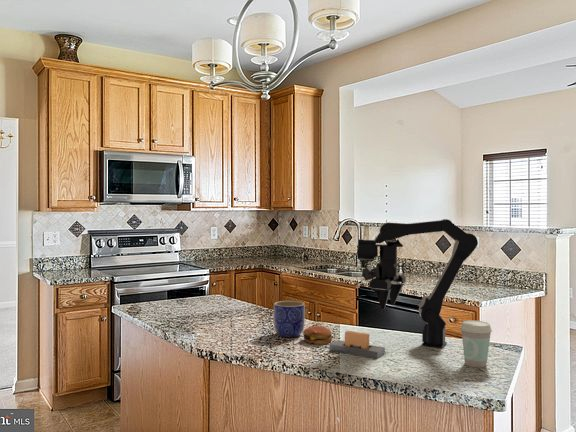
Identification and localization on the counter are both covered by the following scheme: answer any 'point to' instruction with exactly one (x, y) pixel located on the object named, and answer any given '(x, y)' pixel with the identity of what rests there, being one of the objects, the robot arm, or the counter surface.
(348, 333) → the clip
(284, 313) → the planter
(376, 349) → the rail
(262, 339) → the counter surface
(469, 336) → the coffee cup
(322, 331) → the burger
